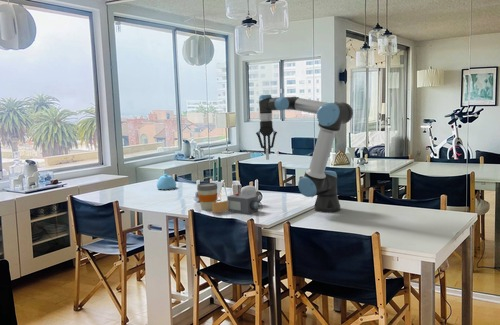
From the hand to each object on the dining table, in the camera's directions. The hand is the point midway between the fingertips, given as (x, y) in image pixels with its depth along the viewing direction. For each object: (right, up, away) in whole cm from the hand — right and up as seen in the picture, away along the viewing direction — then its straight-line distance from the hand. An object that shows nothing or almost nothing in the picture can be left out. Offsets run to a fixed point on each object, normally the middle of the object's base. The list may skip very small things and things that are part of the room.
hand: (267, 159), depth 286 cm
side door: (-28, -31, -7) cm, 42 cm away
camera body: (-14, -31, -6) cm, 34 cm away
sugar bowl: (-76, -23, +83) cm, 115 cm away
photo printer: (-11, -29, +10) cm, 33 cm away
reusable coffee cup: (-37, -31, +7) cm, 48 cm away
